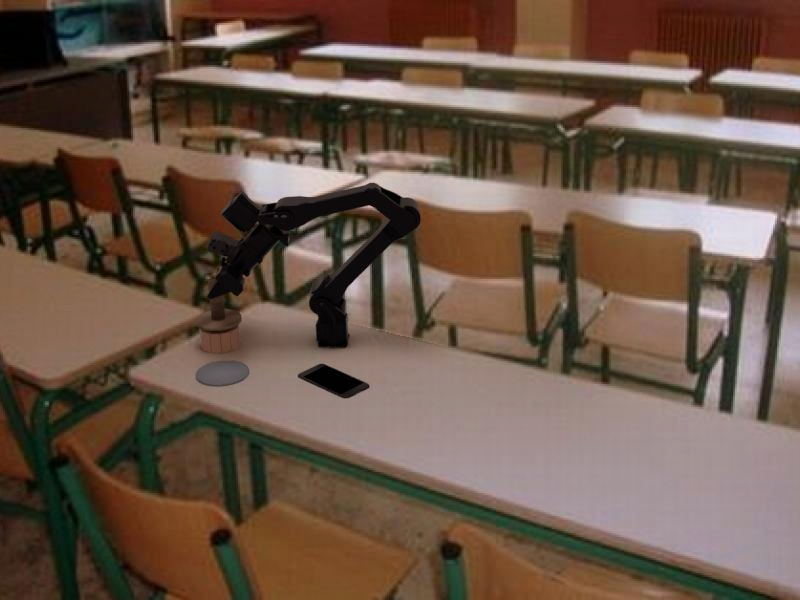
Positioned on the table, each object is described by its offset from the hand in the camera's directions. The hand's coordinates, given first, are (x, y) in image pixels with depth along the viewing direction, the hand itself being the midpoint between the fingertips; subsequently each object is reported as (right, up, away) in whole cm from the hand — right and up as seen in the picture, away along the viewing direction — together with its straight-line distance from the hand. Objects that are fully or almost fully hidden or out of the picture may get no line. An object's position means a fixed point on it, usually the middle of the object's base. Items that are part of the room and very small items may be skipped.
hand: (209, 294), depth 208 cm
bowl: (+1, -11, +5) cm, 12 cm away
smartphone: (+28, -18, -12) cm, 35 cm away
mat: (+4, -17, -8) cm, 19 cm away
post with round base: (+1, -6, +2) cm, 7 cm away
